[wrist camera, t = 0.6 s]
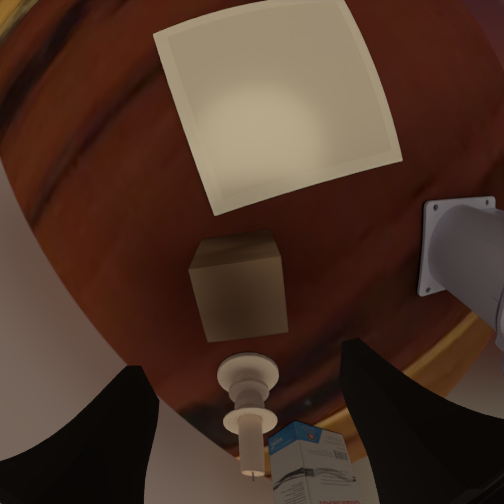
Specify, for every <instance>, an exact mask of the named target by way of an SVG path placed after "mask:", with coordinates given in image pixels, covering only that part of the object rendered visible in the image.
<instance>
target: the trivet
mask: <svg viewBox="0 0 504 504" xmlns="http://www.w3.org/2000/svg"><path fill="white" fill-rule="evenodd" d="M153 37H154V40H155V43H156V46H157V49H158V53H159V56H160V59H161V62H162V65H163V68H164V71H165V74H166V77H167V81H168V84H169V87H170V90H171V93H172V96H173V99H174V102H175V105H176V108H177V111H178V114H179V117H180V120H181V122H182V125H183V128H184V131H185V134H186V137H187V140H188V143H189V146H190V149H191V151H192V154H193V157H194V160H195V163H196V166H197V169H198V171H199V174H200V177H201V180H202V183H203V185H204V188H205V191H206V194H207V196H208V199H209V202H210V205H211V208H212V210H213V213H214V216H217V215H220V214H223V213H225V212H228V211H231V210H234V209H237V208H240V207H243V206H246V205H250V204H253V203H256V202H259V201H262V200H265V199H268V198H271V197H275V196H278V195H281V194H284V193H287V192H291V191H294V190H297V189H301V188H304V187H307V186H311V185H314V184H318V183H321V182H324V181H328V180H331V179H335V178H339V177H342V176H346V175H349V174H353V173H357V172H360V171H364V170H368V169H372V168H376V167H380V166H383V165H387V164H391V163H395V162H400V161H403V160H402V156H401V151H400V147H399V143H398V139H397V135H396V131H395V127H394V123H393V120H392V116H391V113H390V110H389V106H388V103H387V100H386V97H385V94H384V91H383V88H382V85H381V82H380V79H379V76H378V74H377V71H376V68H375V66H374V63H373V61H372V58H371V56H370V53H369V51H368V49H367V46H366V44H365V42H364V40H363V37H362V35H361V33H360V31H359V29H358V27H357V25H356V22H355V20H354V18H353V17H352V15H351V13H350V11H349V9H348V7H347V5H346V3H345V1H344V0H268V1H262V2H256V3H251V4H246V5H242V6H237V7H233V8H229V9H225V10H221V11H218V12H214V13H210V14H207V15H204V16H201V17H197V18H194V19H191V20H188V21H186V22H183V23H180V24H177V25H175V26H172V27H169V28H167V29H164V30H162V31H159V32H157V33H155V34H153Z"/></svg>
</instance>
